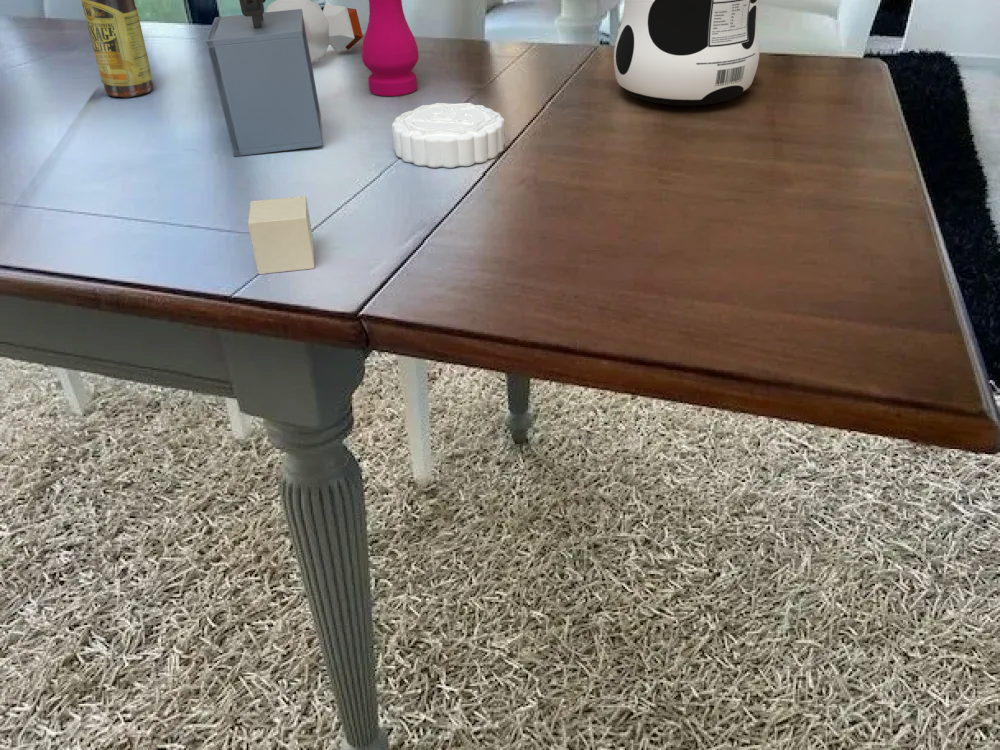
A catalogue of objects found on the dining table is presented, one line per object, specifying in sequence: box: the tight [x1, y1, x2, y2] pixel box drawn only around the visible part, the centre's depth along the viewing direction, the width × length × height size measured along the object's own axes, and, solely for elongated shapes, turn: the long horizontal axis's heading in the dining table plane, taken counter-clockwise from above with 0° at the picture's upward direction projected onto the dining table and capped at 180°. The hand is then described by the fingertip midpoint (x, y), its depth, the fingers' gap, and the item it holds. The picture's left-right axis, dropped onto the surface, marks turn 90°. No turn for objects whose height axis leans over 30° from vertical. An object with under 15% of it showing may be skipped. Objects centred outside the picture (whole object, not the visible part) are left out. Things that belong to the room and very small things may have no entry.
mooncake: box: [391, 102, 506, 169], centre depth 91 cm, size 12×12×4 cm
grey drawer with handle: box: [205, 9, 323, 157], centre depth 92 cm, size 17×11×10 cm
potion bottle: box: [265, 0, 364, 65], centre depth 122 cm, size 9×10×15 cm
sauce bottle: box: [80, 0, 154, 99], centre depth 107 cm, size 7×6×20 cm
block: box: [247, 195, 316, 275], centre depth 70 cm, size 4×4×4 cm
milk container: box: [613, 0, 761, 107], centre depth 101 cm, size 17×17×18 cm
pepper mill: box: [361, 0, 420, 97], centre depth 106 cm, size 7×7×20 cm
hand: (255, 8), depth 89 cm, fingers closed on grey drawer with handle, 5 cm apart
